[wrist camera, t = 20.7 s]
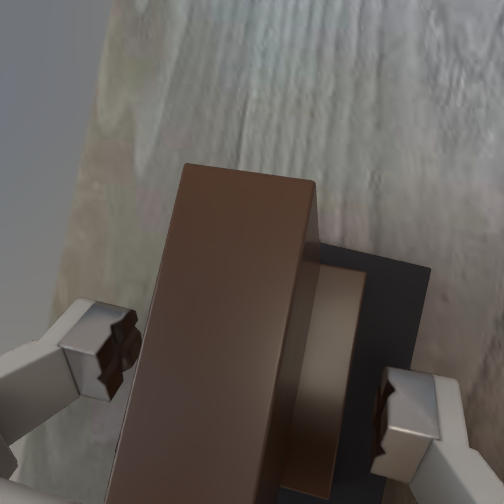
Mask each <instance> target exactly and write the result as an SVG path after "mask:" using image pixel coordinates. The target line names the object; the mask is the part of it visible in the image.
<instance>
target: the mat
mask: <svg viewBox="0 0 504 504" xmlns="http://www.w3.org/2000/svg"><path fill="white" fill-rule="evenodd" d="M319 248H320V264H326V265H331V266H337V267H342V268H348V269H354V270H359V271H365V272H366V273H367V276H366V282H365V288H364V294H363V301H362V307H361V313H360V319H359V325H358V331H357V337H356V343H355V349H354V355H353V361H352V367H351V373H350V379H349V385H348V391H347V397H346V403H345V409H344V415H343V421H342V427H341V433H340V439H339V445H338V451H337V457H336V463H335V469H334V475H333V481H332V487H331V493H330V498H329V499H328V500H325V499H322V498H318V497H315V496H312V495H308V494H305V493H301V492H298V491H294V490H291V489H287V488H284V487H281V486H280V488H279V491H278V495H277V499H276V502H275V504H381V500H382V496H383V491H384V486H385V482H386V477H383V476H380V475H376V474H373V473H370V461H371V443H372V440H373V437H374V434H375V431H374V429H373V428H372V413H373V405H374V400H375V395H376V391H377V388H378V386H380V385H381V384H382V372H383V370H384V367H385V366H386V364H387V365H392V366H396V367H401V368H406V369H410V365H411V360H412V356H413V351H414V346H415V342H416V337H417V332H418V328H419V323H420V318H421V314H422V309H423V304H424V300H425V295H426V290H427V286H428V281H429V276H430V272H431V269H430V268H428V267H423V266H419V265H415V264H410V263H406V262H402V261H397V260H393V259H389V258H384V257H380V256H376V255H371V254H367V253H363V252H358V251H354V250H350V249H345V248H341V247H337V246H332V245H328V244H324V243H319ZM118 441H119V439H118ZM117 445H118V443H117ZM116 449H117V446H116ZM116 449H115V452H116Z"/></svg>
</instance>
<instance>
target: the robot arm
mask: <svg viewBox="0 0 504 504" xmlns="http://www.w3.org/2000/svg"><path fill="white" fill-rule="evenodd" d="M137 321H138V318H137V314H136V311H134V310H132V309H128V308H124V307H119V306H115V305H111V304H107V303H103V302H99V301H94V300H90V299H86V298H80V299H77V300H75V301H74V302H73V303H72V305H71V306H70V307H69V308H68V309H67V310H66V311H65V312H64V313H63V314H62V315H61V317H60V318H59V319H58V320H57V321H56V322H55V323H54V324H53V325H52V326H51V327H50V329H49V330H48V331H47V332H46V333H45V334H44V335H43V336H42V337H41V338H40V339H39V341H34V340H32V341H30V342H28V343H26V344H24V345H21V346H19V347H17V348H15V349H12V350H10V351H8V352H6V353H4V354H1V355H0V504H81V503H78V502H75V501H72V500H69V499H65V498H62V497H59V496H56V495H53V494H50V493H47V492H44V491H41V490H38V489H35V488H32V487H29V486H26V485H23V484H20V483H17V482H14V481H11V480H9V478H10V477H11V475H12V474H13V472H14V471H15V470H16V468H17V467H18V465H17V460H16V458H15V456H14V455H13V453H12V451H11V450H10V448H9V445H11V444H13V443H14V442H15V441H17V440H18V439H20V438H21V437H23V436H24V435H26V434H27V433H28V432H30V431H31V430H33V429H34V428H36V427H37V426H39V425H40V424H41V423H43V422H44V421H46V420H47V419H49V418H50V417H52V416H53V415H54V414H56V413H57V412H59V411H60V410H62V409H63V408H65V407H66V406H67V405H69V404H70V403H72V402H73V401H75V400H76V399H78V398H79V397H80V396H79V395H81V396H86V397H90V398H94V399H98V400H102V401H107V402H110V401H111V400H112V398H113V397H114V395H115V394H116V392H117V390H118V389H119V387H120V386H121V384H122V382H123V373H122V372H124V371H126V370H128V369H129V368H131V367H132V366H133V365H134V363H135V361H136V360H137V358H138V355H139V352H140V348H141V340H142V338H141V333H140V331H139V330H138V329H137V328H136V327H135V326H134V325H135V324H136V322H137ZM372 428H373V429H374V431H375V434H374V437H373V440H372V443H371V461H370V473H373V474H376V475H380V476H383V477H387V478H390V479H393V480H397V481H400V482H403V483H407V484H410V485H409V487H410V489H411V491H412V493H413V495H414V497H415V499H416V501H417V503H418V504H504V484H503V483H502V482H501V480H500V479H499V478H498V476H497V475H496V474H495V473H494V471H493V470H492V469H491V467H490V466H489V465H488V464H487V462H486V461H485V460H484V458H483V457H482V456H481V455H480V453H479V452H478V451H477V450H474V449H471V448H469V442H468V436H467V430H466V424H465V418H464V412H463V406H462V400H461V394H460V388H459V383H458V382H457V380H456V379H452V378H448V377H443V376H438V375H434V374H432V375H431V374H430V373H426V372H421V371H416V370H411V369H406V368H401V367H396V366H392V365H387V364H386V366H385V367H384V370H383V372H382V384H381V385H380V386H378V388H377V391H376V395H375V400H374V405H373V413H372Z"/></svg>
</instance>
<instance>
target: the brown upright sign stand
mask: <svg viewBox="0 0 504 504" xmlns="http://www.w3.org/2000/svg"><path fill="white" fill-rule="evenodd" d="M366 276H367V273H366V272H365V271H359V270H354V269H348V268H342V267H337V266H331V265H326V264H320V248H319V231H318V213H317V196H316V183H315V182H314V181H312V180H305V179H298V178H291V177H284V176H276V175H269V174H262V173H255V172H247V171H240V170H233V169H226V168H219V167H211V166H204V165H197V164H190V163H186V164H184V167H183V171H182V175H181V180H180V184H179V188H178V192H177V196H176V201H175V205H174V209H173V213H172V218H171V222H170V226H169V230H168V234H167V239H166V243H165V247H164V251H163V255H162V260H161V264H160V268H159V272H158V276H157V281H156V285H155V289H154V293H153V298H152V302H151V306H150V310H149V314H148V319H147V323H146V327H145V331H144V335H143V340H142V344H141V348H140V352H139V356H138V361H137V365H136V369H135V373H134V378H133V382H132V386H131V390H130V394H129V399H128V403H127V407H126V411H125V415H124V420H123V424H122V428H121V432H120V436H119V441H118V445H117V449H116V453H115V458H114V462H113V466H112V470H111V474H110V479H109V483H108V487H107V491H106V495H105V500H104V504H275V502H276V499H277V495H278V491H279V488H280V486H281V487H284V488H287V489H291V490H294V491H298V492H301V493H305V494H308V495H312V496H315V497H318V498H322V499H325V500H328V499H329V498H330V493H331V487H332V481H333V475H334V469H335V463H336V457H337V451H338V445H339V439H340V433H341V427H342V421H343V415H344V409H345V403H346V397H347V391H348V385H349V379H350V373H351V367H352V361H353V355H354V349H355V343H356V337H357V331H358V325H359V319H360V313H361V307H362V301H363V294H364V288H365V282H366Z"/></svg>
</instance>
